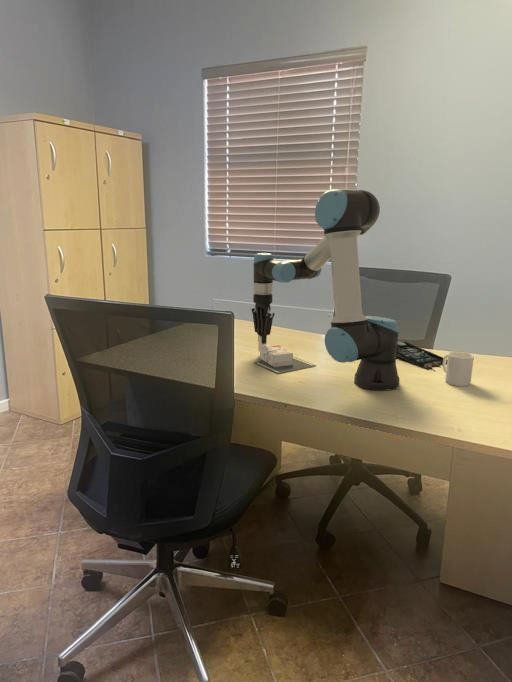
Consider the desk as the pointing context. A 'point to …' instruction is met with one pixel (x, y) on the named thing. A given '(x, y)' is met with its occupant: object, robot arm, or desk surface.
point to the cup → (458, 368)
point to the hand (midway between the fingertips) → (262, 350)
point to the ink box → (276, 356)
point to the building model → (418, 355)
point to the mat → (296, 365)
